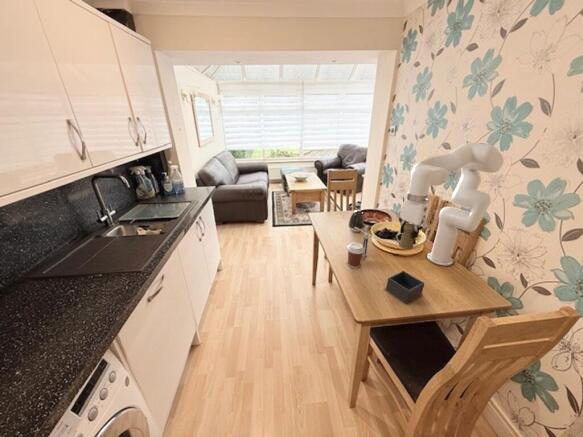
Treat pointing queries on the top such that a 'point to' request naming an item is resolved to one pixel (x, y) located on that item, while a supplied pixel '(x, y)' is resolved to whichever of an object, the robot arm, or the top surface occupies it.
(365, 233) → the alien figure
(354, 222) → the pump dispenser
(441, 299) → the top surface
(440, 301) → the top surface
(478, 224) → the robot arm
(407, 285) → the bin
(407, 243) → the olive flared cylinder
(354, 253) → the coffee cup
